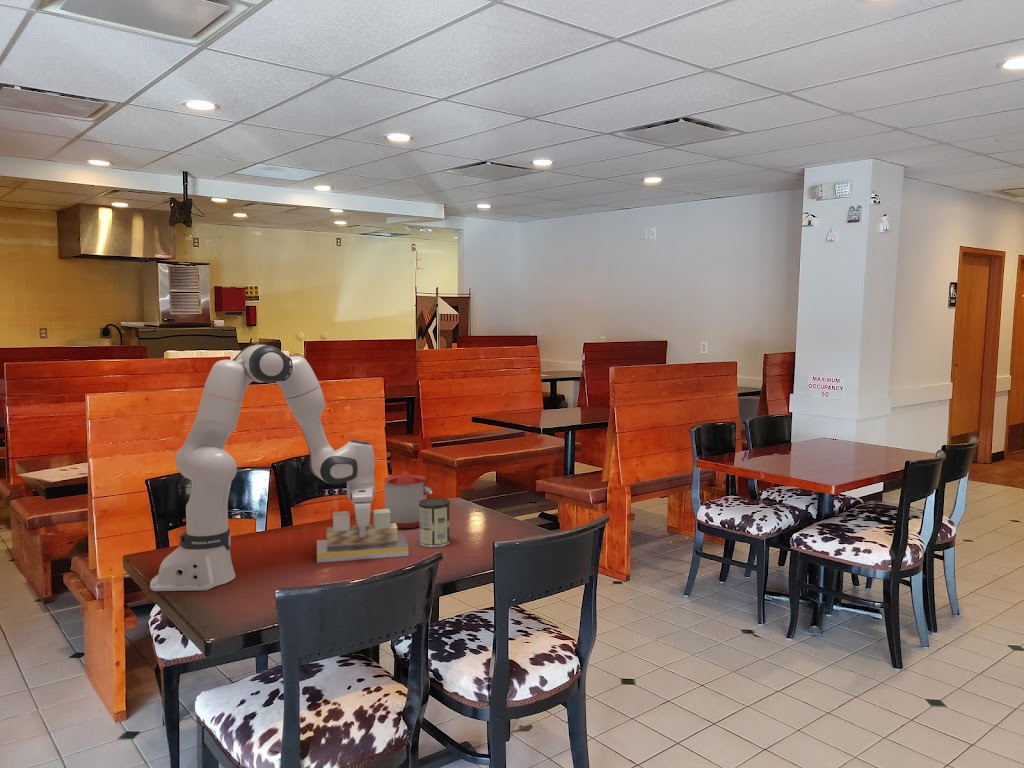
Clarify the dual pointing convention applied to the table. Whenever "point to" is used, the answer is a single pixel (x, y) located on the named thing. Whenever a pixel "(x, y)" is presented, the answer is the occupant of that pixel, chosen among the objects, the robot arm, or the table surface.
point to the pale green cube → (381, 518)
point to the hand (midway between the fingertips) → (361, 533)
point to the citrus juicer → (405, 498)
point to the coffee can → (434, 522)
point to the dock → (361, 550)
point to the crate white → (341, 521)
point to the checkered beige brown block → (354, 537)
